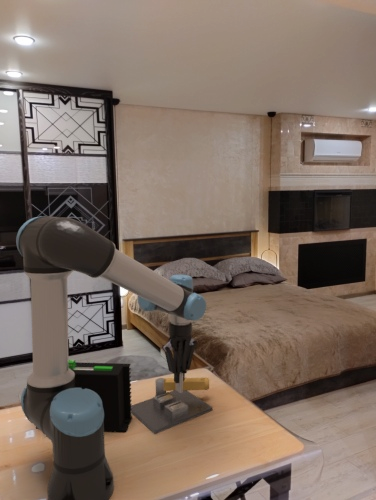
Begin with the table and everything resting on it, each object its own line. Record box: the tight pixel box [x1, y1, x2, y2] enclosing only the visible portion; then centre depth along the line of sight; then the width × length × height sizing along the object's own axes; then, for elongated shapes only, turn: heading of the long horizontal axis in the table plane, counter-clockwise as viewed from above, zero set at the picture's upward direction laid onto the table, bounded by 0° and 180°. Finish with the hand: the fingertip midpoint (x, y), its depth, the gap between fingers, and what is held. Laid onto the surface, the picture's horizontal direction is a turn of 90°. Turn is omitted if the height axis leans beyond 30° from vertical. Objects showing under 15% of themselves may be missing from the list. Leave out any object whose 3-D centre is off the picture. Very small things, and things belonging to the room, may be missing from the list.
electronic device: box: [35, 359, 133, 434], centre depth 124 cm, size 28×11×20 cm, turn 85°
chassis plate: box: [131, 390, 214, 434], centre depth 131 cm, size 22×18×4 cm
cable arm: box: [155, 377, 210, 396], centre depth 137 cm, size 18×4×6 cm, turn 91°
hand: (179, 391), depth 134 cm, fingers closed
